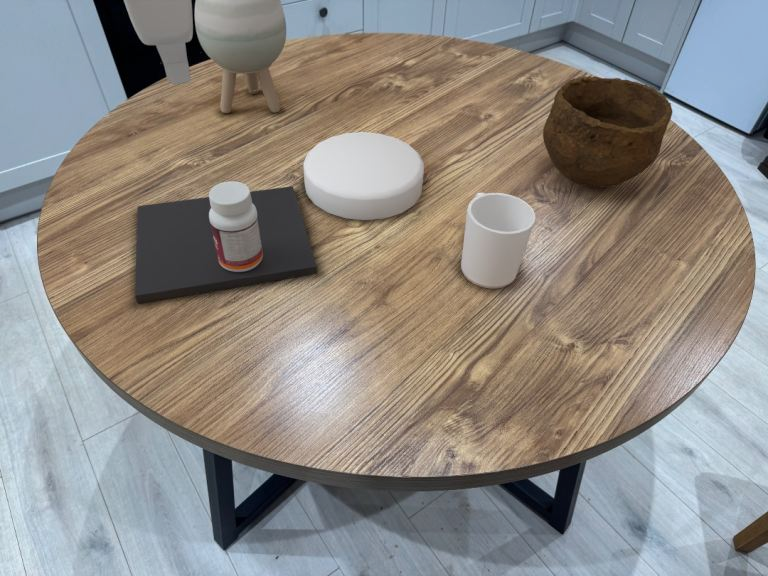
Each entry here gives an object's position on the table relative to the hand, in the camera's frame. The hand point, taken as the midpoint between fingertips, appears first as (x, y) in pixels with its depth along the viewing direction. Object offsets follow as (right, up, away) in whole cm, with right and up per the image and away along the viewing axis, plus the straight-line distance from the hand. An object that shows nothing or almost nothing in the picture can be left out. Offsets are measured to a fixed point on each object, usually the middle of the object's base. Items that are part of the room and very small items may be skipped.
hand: (178, 56), depth 50 cm
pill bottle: (-2, -16, +30) cm, 34 cm away
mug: (+33, -17, +33) cm, 50 cm away
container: (+15, -3, +47) cm, 49 cm away
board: (-6, -13, +35) cm, 38 cm away
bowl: (+54, -1, +51) cm, 74 cm away
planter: (-9, +17, +65) cm, 68 cm away
